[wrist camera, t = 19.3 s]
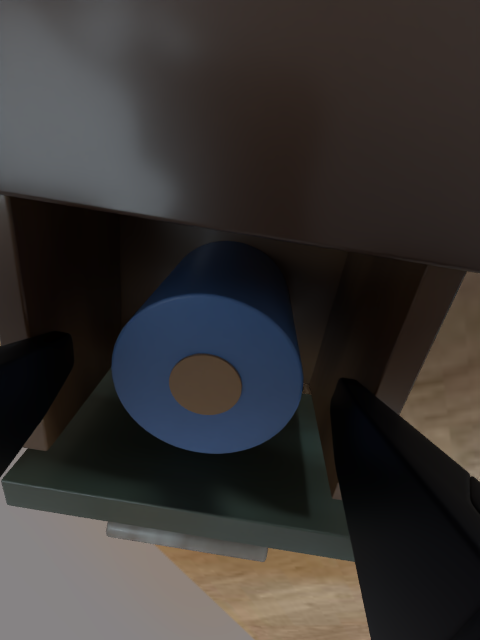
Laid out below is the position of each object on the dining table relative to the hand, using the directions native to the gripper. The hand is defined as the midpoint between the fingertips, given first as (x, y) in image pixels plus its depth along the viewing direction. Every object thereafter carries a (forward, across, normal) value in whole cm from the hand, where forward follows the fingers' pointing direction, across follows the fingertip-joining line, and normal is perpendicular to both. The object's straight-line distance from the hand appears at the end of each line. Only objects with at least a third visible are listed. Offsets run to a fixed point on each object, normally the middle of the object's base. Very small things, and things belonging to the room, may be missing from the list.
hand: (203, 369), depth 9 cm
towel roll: (+5, 0, 0) cm, 5 cm away
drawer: (+6, 0, +2) cm, 6 cm away
